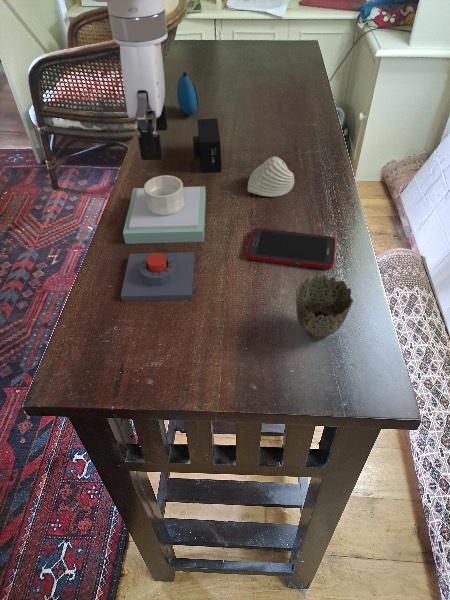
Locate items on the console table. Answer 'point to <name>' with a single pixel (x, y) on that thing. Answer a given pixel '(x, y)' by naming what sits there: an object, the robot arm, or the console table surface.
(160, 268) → the button
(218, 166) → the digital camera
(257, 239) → the cell phone
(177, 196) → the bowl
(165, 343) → the console table surface
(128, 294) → the pad
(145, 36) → the robot arm
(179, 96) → the ornament
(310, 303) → the cup
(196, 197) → the scale
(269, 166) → the seashell
